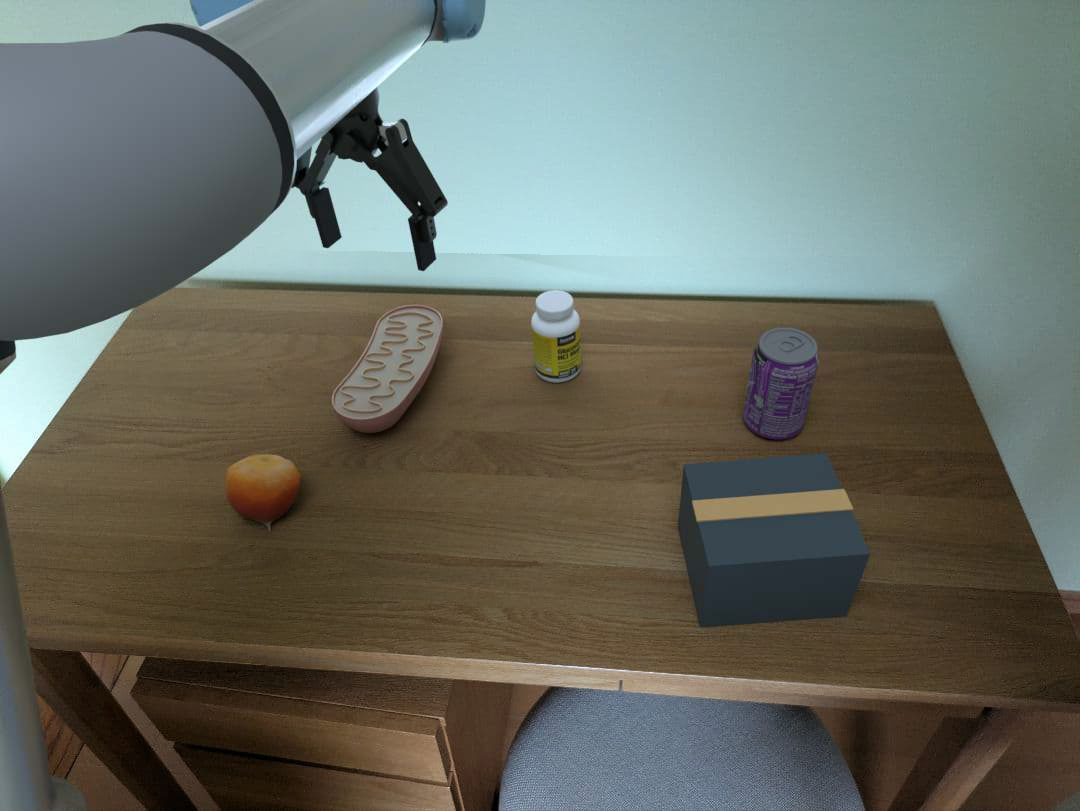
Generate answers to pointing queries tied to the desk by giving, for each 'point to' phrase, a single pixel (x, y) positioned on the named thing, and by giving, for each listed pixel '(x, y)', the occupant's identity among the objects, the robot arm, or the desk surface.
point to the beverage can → (780, 383)
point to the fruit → (262, 487)
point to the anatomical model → (390, 369)
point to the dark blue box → (769, 540)
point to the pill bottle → (556, 337)
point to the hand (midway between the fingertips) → (378, 253)
